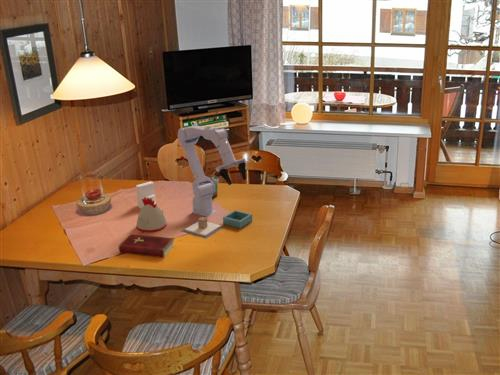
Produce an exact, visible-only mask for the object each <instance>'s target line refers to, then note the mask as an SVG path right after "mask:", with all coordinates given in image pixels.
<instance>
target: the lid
mask: <svg viewBox="0 0 500 375" xmlns="http://www.w3.org/2000/svg"><path fill="white" fill-rule="evenodd" d="M197 221H198V222H197ZM197 221H195V222H196V223H195V222H194V223H195V224H194V223H192V224H193V225H192V224H191V226H190V225H189V227H188V226H187V227H188V228H187V227H185V228H186V229H185V228H184V229H185V231H188V232H191V233H195V234H198V235H202V236H207V235H209V234H210V233H212V232H214V231H215V230H217V229H218V228H220V227H221V224H219V225H218V224H217V223H215V224H214V222H211V221H208V217H206V216H204V217H203V216H200V217H199V218H198V219H197Z"/></svg>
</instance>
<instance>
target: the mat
mask: <svg viewBox="0 0 500 375" xmlns="http://www.w3.org/2000/svg"><path fill="white" fill-rule="evenodd" d="M196 222H198V220H196V221H195V222H194V223H192V224H191V225H193V224H195V223H196ZM213 223H214V222H213ZM214 224H216V223H214ZM191 225H189V226H191ZM218 225H221V224H218ZM189 226H187V227H185V228H183V229H181V230H180V232H182V233H185V234H189V235H191V236H195V237H198V238H202V239H204V240H205V239H208V238H210V237H211V236H213V235H214V234H216V233H218V232H219V231H220V230H222V229H224V228H226V226H227V225H223V224H222V225H221V227H220V228H218V229H217V230H215V231H214V232H212V233H210V234H209V235H207V236H202V235H198V234H195V233H191V232H188V231H185V229H186V228H188V227H189Z"/></svg>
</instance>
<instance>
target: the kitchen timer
mask: <svg viewBox="0 0 500 375" xmlns="http://www.w3.org/2000/svg"><path fill="white" fill-rule="evenodd" d="M142 201H143V204H144V207H143V208H142V209H140V211H139V213H138V216H137V220H136V230H137V231H138V232H140V233H143V234H145V233H155V232H159V231H162V230H164V229H165V228H166V227H167V225H168V224H167V220H166V219H167V218H166V217H165V214H164V211H163V210H162V209H161V208H160V207H159V206H158V205H157V203H156V204H154V201H152V199H151V198H150V200H149V197H148V198H147V199H146V197H144V199H142Z"/></svg>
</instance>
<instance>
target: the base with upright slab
mask: <svg viewBox="0 0 500 375" xmlns="http://www.w3.org/2000/svg"><path fill="white" fill-rule="evenodd" d="M155 191H156V190H155V182H153V181H151V180H150V181H146V182H144V183H140V184H136V195H137V197H136V198H137V206H138V208H139V209H140V210H141V209H142V208H143V207H144V204H143V201H142V199H144V197H146V199H147V198H148V197H149V200H150V198H151V199H152V201H154V204H157V202H156V193H155Z"/></svg>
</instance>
